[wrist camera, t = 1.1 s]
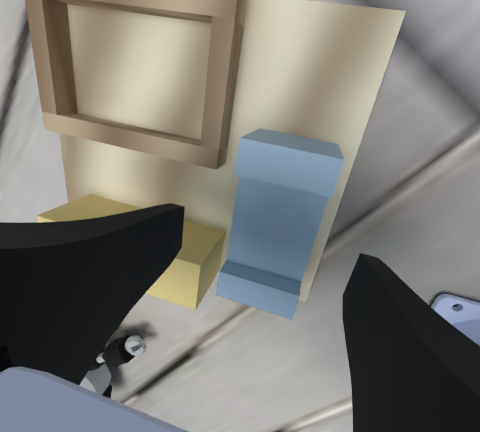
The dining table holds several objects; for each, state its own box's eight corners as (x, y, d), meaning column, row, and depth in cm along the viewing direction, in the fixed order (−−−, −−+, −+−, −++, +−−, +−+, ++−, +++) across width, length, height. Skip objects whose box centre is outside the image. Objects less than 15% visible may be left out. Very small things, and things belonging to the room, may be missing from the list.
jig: (399, 17, 12) (417, -2, 9) (306, 292, 18) (304, 318, 16) (55, -22, 15) (8, -43, 13) (82, 224, 22) (54, 239, 19)
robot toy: (62, 246, 25) (23, 337, 31) (12, 272, 21) (-21, 371, 26) (170, 325, 25) (111, 400, 31) (142, 366, 21) (81, 443, 27)
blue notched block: (259, 128, 14) (239, 137, 10) (337, 143, 13) (344, 159, 10) (237, 255, 17) (215, 294, 14) (298, 273, 17) (291, 319, 13)
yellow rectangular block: (225, 231, 17) (200, 265, 13) (219, 269, 18) (195, 310, 15) (90, 193, 19) (36, 215, 15) (93, 231, 20) (44, 259, 17)
